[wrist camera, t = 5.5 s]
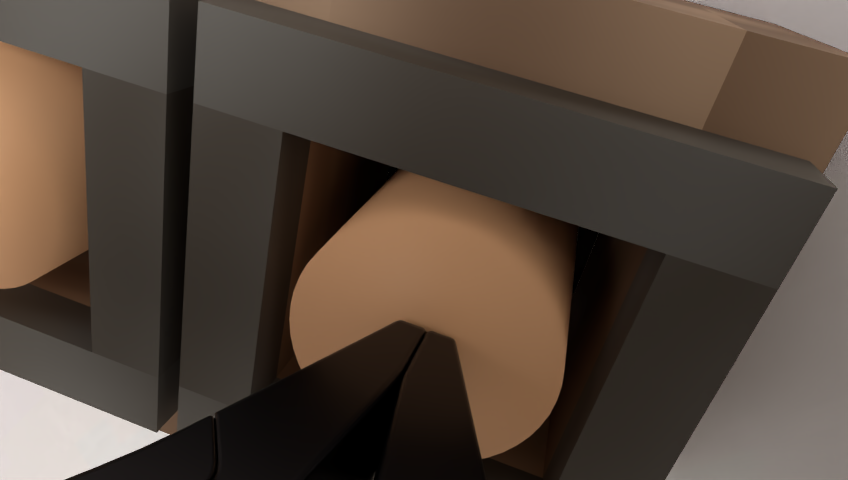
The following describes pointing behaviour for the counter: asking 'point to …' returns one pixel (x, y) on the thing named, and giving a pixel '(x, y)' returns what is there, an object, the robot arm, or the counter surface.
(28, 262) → the peg
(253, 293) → the socket block
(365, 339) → the robot arm
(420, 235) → the peg
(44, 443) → the counter surface
